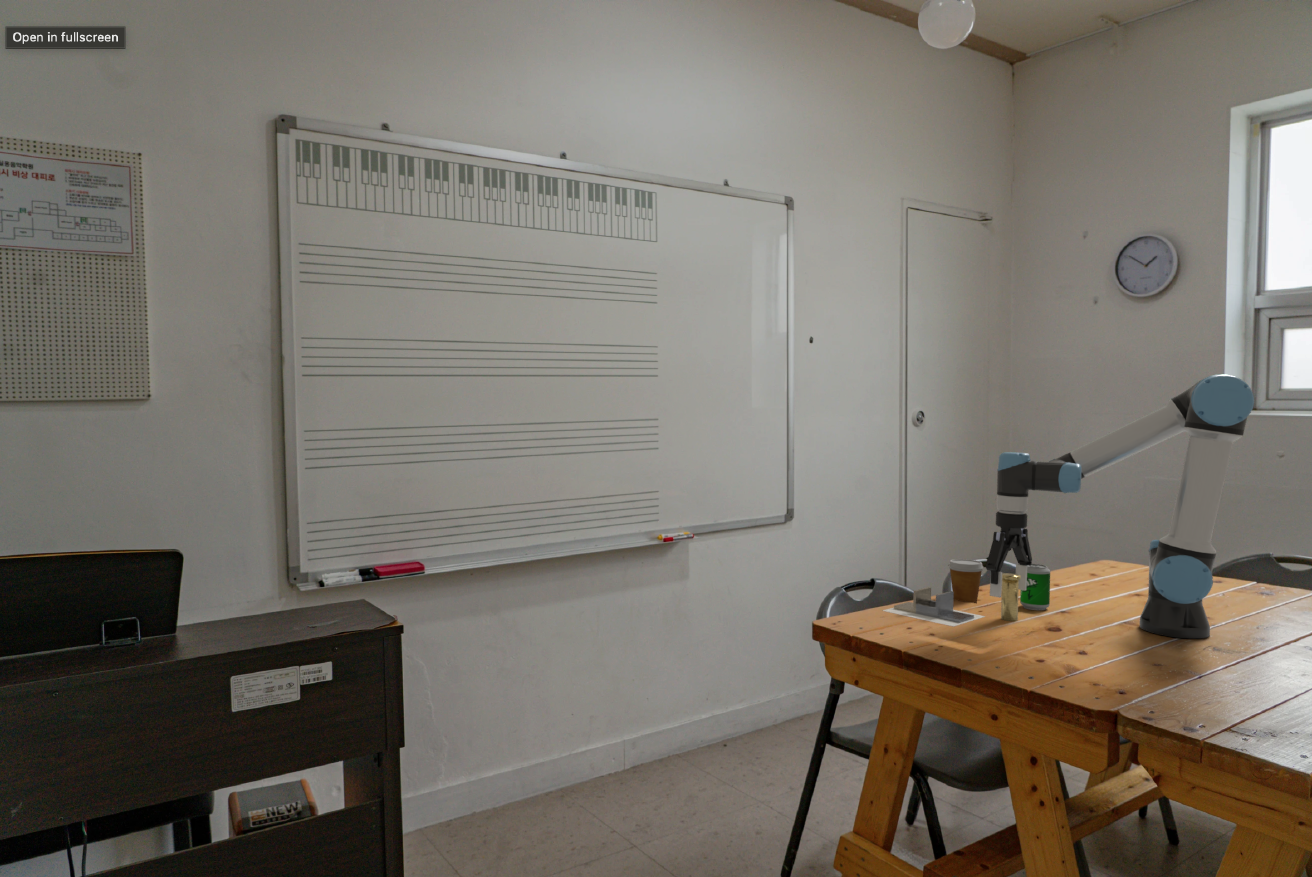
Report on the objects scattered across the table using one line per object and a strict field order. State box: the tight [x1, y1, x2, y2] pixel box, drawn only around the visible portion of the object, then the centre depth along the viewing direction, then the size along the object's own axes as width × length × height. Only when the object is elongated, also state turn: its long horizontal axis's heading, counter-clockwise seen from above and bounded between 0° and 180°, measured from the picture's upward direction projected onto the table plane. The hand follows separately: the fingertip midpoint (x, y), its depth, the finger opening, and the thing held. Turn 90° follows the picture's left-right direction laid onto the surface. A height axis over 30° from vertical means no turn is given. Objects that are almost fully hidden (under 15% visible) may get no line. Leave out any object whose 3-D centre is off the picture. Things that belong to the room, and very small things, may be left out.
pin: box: [1000, 572, 1021, 622], centre depth 215 cm, size 5×5×13 cm
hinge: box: [893, 586, 974, 623], centre depth 221 cm, size 19×7×6 cm, turn 41°
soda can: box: [1019, 563, 1051, 611], centre depth 233 cm, size 8×8×12 cm
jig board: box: [882, 607, 986, 628], centre depth 221 cm, size 21×16×1 cm
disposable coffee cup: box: [947, 558, 984, 604], centre depth 238 cm, size 10×10×12 cm
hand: (1008, 593), depth 215 cm, fingers open, 13 cm apart
